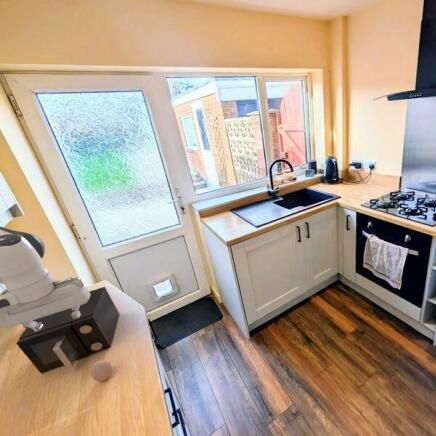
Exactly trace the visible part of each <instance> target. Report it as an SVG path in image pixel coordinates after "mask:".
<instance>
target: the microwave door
mask: <svg viewBox="0 0 436 436" xmlns="http://www.w3.org/2000/svg"><path fill="white" fill-rule="evenodd" d="M15 344H16V345H17V347H18V348H19V349H20V350H21V351H22V352H23V354H24V355H25V356H26V357H27V359H28V360H29V362H31V363H32V365H33V366H34V367H35V368H36V370H37V371H38V372H39V373H40V375H42V374H45V373H47V372H50V371H53V370H56V369H58V368H61V367H65V368H66V369H67V370H70V369H72V368H73V367H74V365H75V362H77V361H79V360H83V359H85V358H88V357H90V355H91V354H90V352H89V351H88V349H87V348H86V346H85V345H84V343H83V342H82V340H81V339H80V337H79V335H78V334H77V332H76V331H75V329H74V328H73V326H72V323H68V324H65V325H62V326H59V327H56V328H52V329H49V330H46V331H43V332H40V333H37V334H34V335H31V336H28V337H25V338H22V339H19V338H18V340H17V342H15Z"/></svg>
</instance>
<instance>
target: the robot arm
mask: <svg viewBox="0 0 436 436" xmlns="http://www.w3.org/2000/svg"><path fill="white" fill-rule="evenodd" d="M45 252H46V245H45V243H44V241H43V239H42V238H40V237H38V236H37V235H35V234H32V233H29V232H26V231H25V232H24V231H20V230H13V229H10V228H6V227H2V226H0V284H1V285H4V286H5V289H4V290H2V291H1V292H0V326H1V327H3V328H7V329H10V328H13V327H15V326H19V325H22V324H23V325H24V326H26V327H29V328H33V330H34V331H35V332H37V331H40V330H42V328H43V327H44V325H42V323H41V322H40V323H37V322H35V321H32V320H35V319H38V318H41V317H45V316H48V315H51V314H54V313H57V312H60V311H63V310H67V309H70V308H71V309H72V310H75V311H74V312H73V313H72V315H71V316H72V317H73V319H76V318H79V317H80V315H81V313H80V312H79V307H80V305H82V304H85V303H87V302H88V300H89V298H90V292H89V291H90V290H89V289H88V288H87V287H86V286H85V284H84V282H83V281H82V279H81V278H79V277H74V276H71V277H67V278H65V279H59V280H55V277H54V276H53V274H52V273H51V272H50V270H49V269H48V268H47V267H45V266H44V264H43V261H42V259H43V258H44V256H45ZM23 325H22V326H23Z"/></svg>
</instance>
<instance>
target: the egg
mask: <svg viewBox="0 0 436 436" xmlns="http://www.w3.org/2000/svg"><path fill="white" fill-rule="evenodd" d="M112 373H113V365H112V363H111V362H109V361H108V360H105V359H101V360H98V361H96V362H94V364H93V365H92V366H91V369H90V376H91V378H92V379H93V381H96V382H103V381H106V380H108V379H109V377H110V376H111V375H112Z"/></svg>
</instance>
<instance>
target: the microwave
mask: <svg viewBox="0 0 436 436" xmlns="http://www.w3.org/2000/svg"><path fill="white" fill-rule="evenodd" d="M88 291H89V292H90V298H89V300H88V302H87V303H85V304H82V305H80V307H79V312H80V313H81V315H80V317H79V318H76V319H73V317H72V316H71V315H72V313H73V312H74V311H75V310H72V309H71V308H70V309H67V310H63V311H60V312H57V313H54V314H51V315H48V316H45V317H41V318H38V319H35V320H32V321H35V322H37V323H40V322H41V323H42V325H44V327H43V328H42V330H40V331H37V332H35V331H34V330H33V328H29V327H27V328H26V329H25V328H24V331H23V332H22V333H21V335H20V336H19V338H18V340H19V339H22V338H25V337H28V336H31V335H34V334H37V333H40V332H43V331H46V330H49V329H52V328H56V327H59V326H62V325H65V324H68V323H72V326H73V328H74V329H75V331H76V332H77V334H78V335H79V337H80V339H81V340H82V342H83V343H84V345H85V346H86V348H87V349H88V351H89V352H90V355H94V354H96V353H99V352H102V351H105V350H108V349H110V348H111V347H112V345H113V341H114V338H115V334H116V331H117V327H118V323H119V319H120V315H121V314H120V312H119V310H118V309H117V307H116V305H115V303H114V301H113V299H112V297H111V295H110V293H109V291H108V290H107V287H105V286H103V287H99V288H96V289H92V290H88Z"/></svg>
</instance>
